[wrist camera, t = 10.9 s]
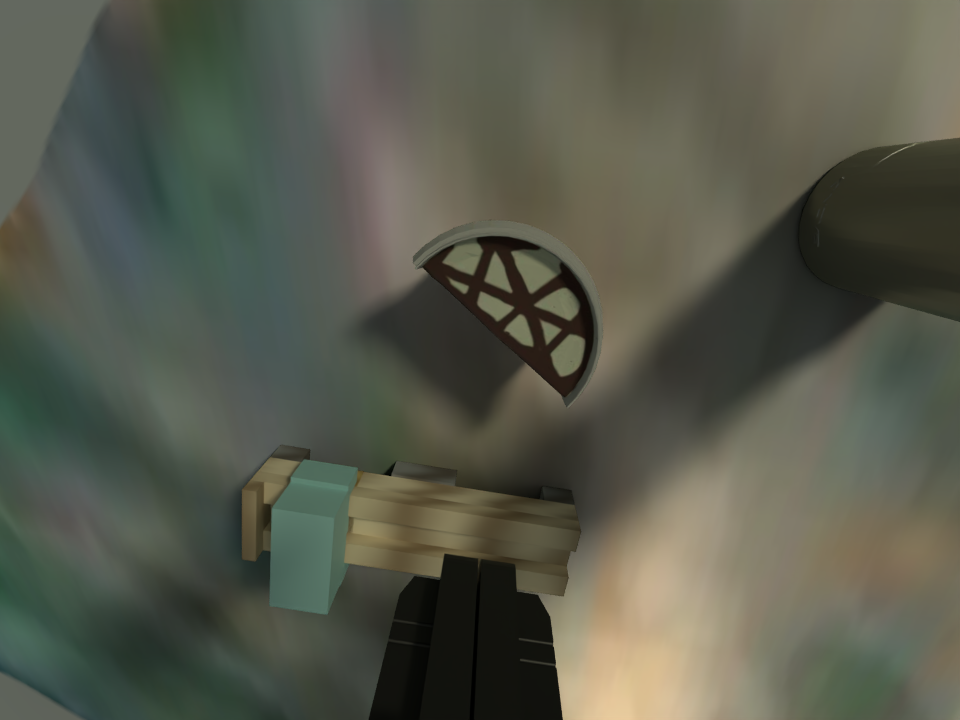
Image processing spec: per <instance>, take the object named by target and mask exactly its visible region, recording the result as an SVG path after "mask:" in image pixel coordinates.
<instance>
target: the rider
mask: <svg viewBox="0 0 960 720" xmlns="http://www.w3.org/2000/svg"><path fill="white" fill-rule="evenodd" d="M357 472H358V468H356V467H350V466H343V465H337V464H331V463H324V462H318V461H312V460H305V459H304V460H303V461H302V463H301V464H300V465H299V467H298V468H297V469H296V471H295V472H294V473H293V475H292V476H291V482H290V484H289V485H288V486H287V488H286V489H285V491H284V492H283V493H282V495H281V496H280V498H279V499H278V500H277V502H276V503H275V504H274V506H273V507H272V520H271V561H270V602H269V606H273V607H279V608H286V609H293V610H299V611H306V612H312V613H319V614H325V615H327V614H328V612H329V609H330V607H331V604H332V602H333V599H334V597H335V595H336V592H337V590H338V587H339V586H341V583H342V581H343V578H344V576H345V573H346V571H347V568H348V566H349V563H344V558H345V546H346V534H347V532H348V523H349V517H348V510H349V498H350V494H351V492H352V490H353V488H354V486H355V484H356V482H357Z"/></svg>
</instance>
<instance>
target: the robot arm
mask: <svg viewBox="0 0 960 720" xmlns="http://www.w3.org/2000/svg"><path fill="white" fill-rule="evenodd" d="M799 243H800V249H801V254H802V256H803V258H804V260H805V262H806V265H807V266H808V267H809V269H810V270H811V271H812V272H813V273H814V275H815V276H817V277H818V278H819V279H821V280H822V281H824V282H825V283H827V284H830V285H832V286H835V287H837V288H840V289H844V290H848V291H851V292H855V293H858V294H862V295H865V296H869V297H873V298H876V299H879V300H882V301H886V302H890V303H893V304H897V305H900V306H904V307H908V308H911V309H915V310H919V311H922V312H926V313H929V314H933V315H937V316H940V317H944V318H948V319H951V320H955V321H958V322H960V138H953V139H944V140H935V141H925V142H917V143H909V144H900V145H892V146H884V147H877V148H873V149H869V150H865V151H862V152H859V153H857V154H855V155H853V156H851V157H849V158H847V159H845V160H844V161H842V162H841V163H840V164H838V165H837V166H835V167H834V168H833V169H831V170H830V171H829V172H828V173H827V174H826V175H825V176H824V177H823V178H822V179H821V180H820V182H819V183H818V184H817V186H816V187H815V189H814V190H813V192H812V193H811V194H810V196H809V198H808V201H807V203H806V205H805V207H804V209H803V213H802V217H801V221H800V225H799ZM555 665H556V660H555V652H554V647H553V635H552V627H551V619H550V616H549V614H548V612H547V610H546V609H545V607H544V605H543V603H542V602H541V600H540V598H539V596H538V595H535V594H529V593H522V592H517V584H516V567H515V564H511V563H505V562H499V561H492V560H486V559H480V562H479V567H478V558H472V557H465V556H459V555H452V554H446V553H444V558H443V564H442V570H441V576H440V580H437V579H430V578H424V577H417V576H414V578H413V579H412V580H411V581H410V582H409V584H408V585H407V586H406V587H405V588H404V590H403V591H402V592H401V593H400V595H399V599H398V603H397V607H396V611H395V615H394V620H393V623H392V627H391V631H390V635H389V640H388V643H387V647H386V651H385V655H384V659H383V663H382V668H381V672H380V676H379V680H378V684H377V688H376V692H375V696H374V700H373V704H372V708H371V712H370V716H369V720H563V718H562V710H561V701H560V693H559V685H558V677H557V668H556V667H555Z"/></svg>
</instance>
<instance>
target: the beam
mask: <svg viewBox="0 0 960 720" xmlns="http://www.w3.org/2000/svg"><path fill="white" fill-rule="evenodd" d="M304 459H305V460H310V449H304V448H298V447H291V446H285V445H280V446H279V447H278V449H277V450H276V451H275V452H274V453H273V454H272V456H271V457H270V458H269V459H268V460H267V461H266V462H265V464H264V465H263V466H262V467H261V468H260V469H259V471H258V472H257V473H256V474H255V475H254V476H253V477H252V479H251V480H250V481H249V482H248V483H247V484H246V486H245V487H244V488H243V489H242V559H243V560H249V561H256V560H257V559H258V557H259V556H260V554H261V552H262V551H263V550H265V551H271V520H272V507H273V506H274V504H275V503H276V502H277V500H278V499H279V498H280V496H281V495H282V493H283V492H284V491H285V489H286V488H287V486H288V485H289V484H290V482H291V476H292V475H293V473H294V472H295V471H296V469H297V468H298V467H299V465H300V464H301V463H302V461H303V460H304ZM456 475H457V470H451V469H445V468H438V467H432V466H426V465H419V464H413V463H407V462H400V461H396V464H395V466H394V469H393V472H392V475H391V476H386V475H379V474H373V473H367V472H364V471H358V472H357V482H356V484H355V486H354V488H353V490H352V492H351V494H350V498H349V510H348V517H349V523H348V532H347V534H346V546H345V558H344V563H349V564H356V565H362V566H369V567H375V568H382V569H388V570H395V571H401V572H408V573H414V574H421V575H427V576H434V577H440V576H441V570H442V564H443V558H444V553H446V554H452V555H459V556H465V557H472V558H478V567H479V562H480V559H486V560H492V561H499V562H505V563H511V564H515V567H516V584H517V589H518V590H524V591H531V592H537V593H544V594H550V595H557V596H563V597H564V593H565V589H566V586H567V582H568V578H569V577H568V571H567V563H568V559H569V555H570V552H571V551H574V552H576V549H577V545H578V541H579V538H580V534H581V529H580V525H579V521H578V517H577V513H576V509H575V505H574V500H573V496H572V492H571V490H564V489H558V488H552V487H545V486H542V490H541V494H540V498H539V499H532V498H526V497H520V496H513V495H507V494H501V493H494V492H488V491H481V490H475V489H469V488H462V487H456V486H455V482H456Z"/></svg>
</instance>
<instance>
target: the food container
mask: <svg viewBox="0 0 960 720" xmlns="http://www.w3.org/2000/svg"><path fill="white" fill-rule="evenodd" d="M413 264H414V265H416V267H415V269H419V268H424V269H425V270H426V271H427V272H428V273H429V274H430V275H431V277H432V278H434V279H435V280H437V281H438V282H439V283H440V284H441V285H443V286H444V287H445V288H446V289H447V290H448V291H449V292H450V293H451V294H452V295H453V296H454V297H455V298H457V299H458V300H459V301H460V302H461V303H462V304H463V305H464V306H465V307H466V308H467V309H468V310H469V311H470V312H471V313H473V314H474V315H475V316H476V317H477V318H478V319H479V320H480V321H481V322H482V323H483V324H484V325H485V326H486V327H487V328H488V329H489V330H490V331H491V332H492V333H493V334H494V335H495V336H496V337H497V338H499V339H500V340H501V341H502V342H503V343H504V344H505V345H507V346H508V347H509V348H510V349H511V350H512V351H514V352H515V353H516V354H517V355H518V356H519V357H520V358H521V359H522V360H524V361H525V362H526V363H527V364H528V365H529V366H530V367H531V368H532V369H533V370H535V371H536V372H537V373H538V374H539V375H540V376H541V377H542V378H543V379H544V380H545V381H546V382H548V383H549V384H550V385H551V386H552V387H553V388H554V389H555V390H556V391H558V392H559V393H560V394H561V396H562V398H563V400H564V403H565V405H566V407H567V408H569V407H570V406H571V404H572V403H573V402H574V401H575V400H576V399H577V398H578V397H579V396H580V395H581V393H582V392H583V390H584V389H585V387H586V386H587V385H588V383H589V381H590V379H591V377H592V375H593V373H594V371H595V369H596V366H597V363H598V360H599V356H600V353H601V346H602V338H603V315H602V308H601V303H600V298H599V294H598V292H597V289H596V286H595V284H594V281H593V279H592V277H591V276H590V274H589V272H588V271H587V269H586V267H585V265H584V264H583V263H582V262H581V261H580V259H579V258H578V257H577V256H576V255H575V253H574V252H573V251H572V250H570V249H569V248H568V247H567V246H566V245H565V244H563V243H562V242H561V241H560V240H558V239H557V238H555V237H553V236H552V235H550V234H548V233H547V232H545V231H543V230H540V229H538V228H535V227H532V226H530V225H527V224H522V223H518V222H513V221H502V220H487V221H479V222H472V223H469V224H465V225H462V226H458V227H455V228H453V229H451V230H449V231H447V232H445V233H443V234H441V235H439V236H437V237H436V238H435V239H433V240H432V241H430V242H429V243H427V244H426V245H425V246H424V247H422V248H421V249H420V250H419V251H418V252H417V253H416V254H415V255H414V256H413Z"/></svg>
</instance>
